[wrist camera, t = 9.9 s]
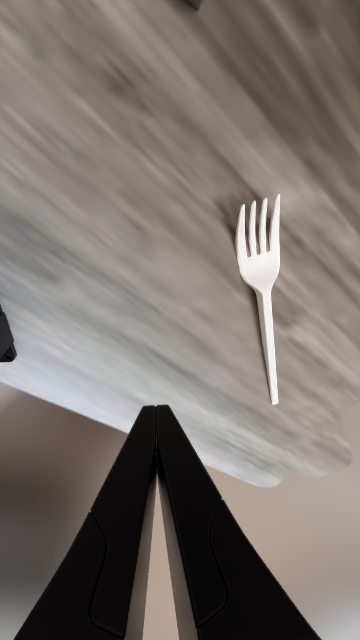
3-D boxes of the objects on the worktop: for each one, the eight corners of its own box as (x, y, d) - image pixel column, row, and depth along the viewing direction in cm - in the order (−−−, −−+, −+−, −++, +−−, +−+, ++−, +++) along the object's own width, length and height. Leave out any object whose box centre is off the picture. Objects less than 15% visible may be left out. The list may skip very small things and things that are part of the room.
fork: (256, 402, 28) (263, 417, 26) (226, 202, 17) (234, 206, 16) (287, 395, 27) (295, 409, 26) (274, 188, 17) (287, 191, 16)
